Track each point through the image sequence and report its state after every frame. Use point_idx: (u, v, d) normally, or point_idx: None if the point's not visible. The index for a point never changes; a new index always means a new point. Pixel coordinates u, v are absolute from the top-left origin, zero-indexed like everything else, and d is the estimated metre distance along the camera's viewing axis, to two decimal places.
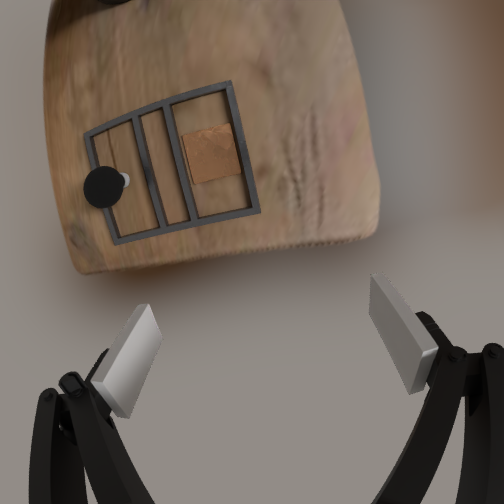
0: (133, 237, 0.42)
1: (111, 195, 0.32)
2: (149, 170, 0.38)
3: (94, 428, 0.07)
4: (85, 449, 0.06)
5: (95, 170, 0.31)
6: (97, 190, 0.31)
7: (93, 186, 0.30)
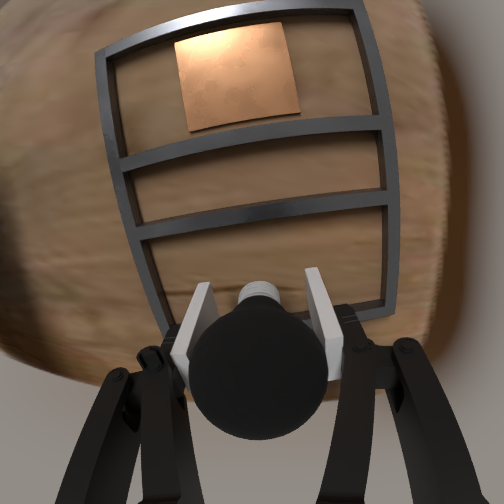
0: (392, 271, 0.19)
1: (293, 367, 0.09)
2: (256, 209, 0.18)
3: (164, 410, 0.08)
4: (147, 430, 0.07)
5: (193, 396, 0.10)
6: (258, 417, 0.08)
7: (241, 425, 0.08)
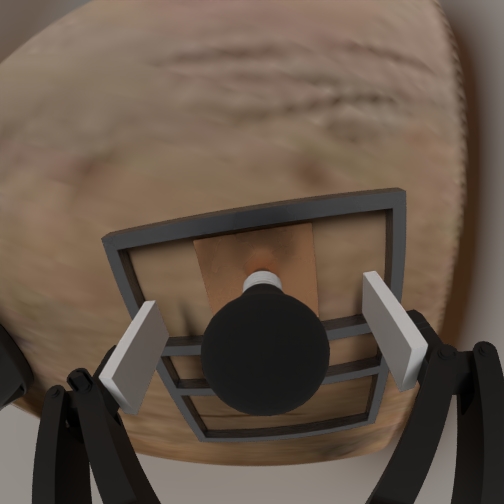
0: (375, 404, 0.23)
1: (298, 342, 0.10)
2: None
3: (101, 425, 0.07)
4: (91, 446, 0.06)
5: (205, 375, 0.11)
6: (268, 389, 0.09)
7: (252, 400, 0.09)
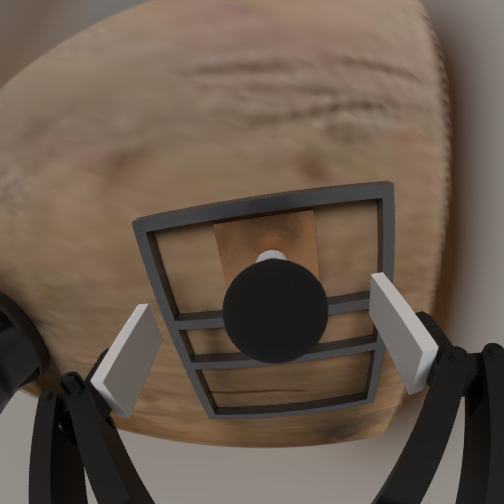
0: (373, 382, 0.26)
1: (302, 293, 0.13)
2: None
3: (94, 428, 0.07)
4: (85, 449, 0.06)
5: (227, 326, 0.14)
6: (279, 331, 0.12)
7: (266, 342, 0.13)
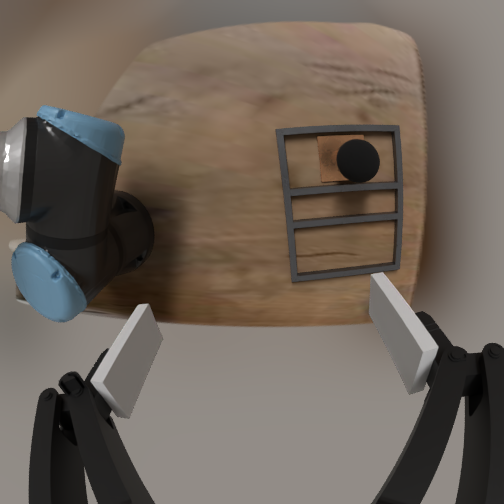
0: (398, 248, 0.43)
1: (371, 146, 0.31)
2: (347, 218, 0.42)
3: (94, 428, 0.07)
4: (85, 449, 0.06)
5: (342, 159, 0.32)
6: (365, 156, 0.30)
7: (361, 160, 0.30)
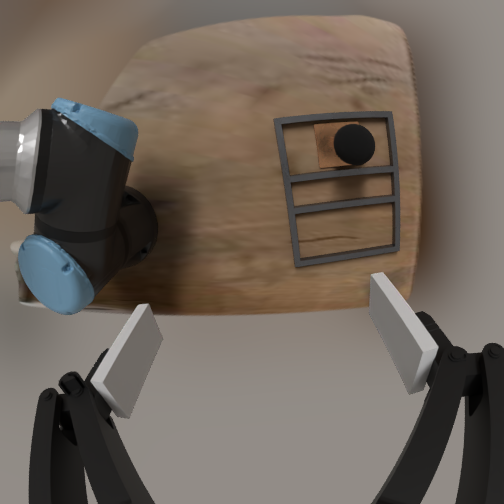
0: (397, 229, 0.45)
1: (366, 130, 0.32)
2: (346, 202, 0.43)
3: (94, 428, 0.07)
4: (85, 449, 0.06)
5: (339, 143, 0.33)
6: (361, 139, 0.31)
7: (357, 143, 0.31)
